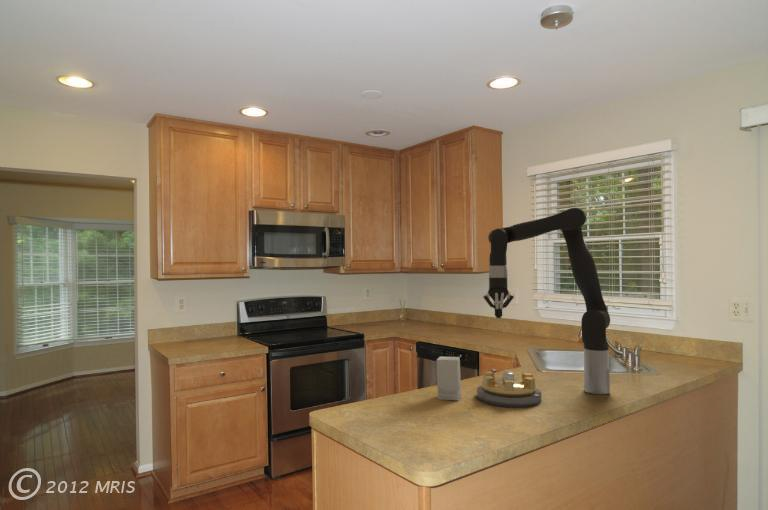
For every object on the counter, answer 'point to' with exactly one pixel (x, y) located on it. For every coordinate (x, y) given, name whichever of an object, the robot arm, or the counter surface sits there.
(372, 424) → the counter surface
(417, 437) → the counter surface
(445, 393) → the skincare box
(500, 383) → the brass lugged disc
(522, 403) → the housing
